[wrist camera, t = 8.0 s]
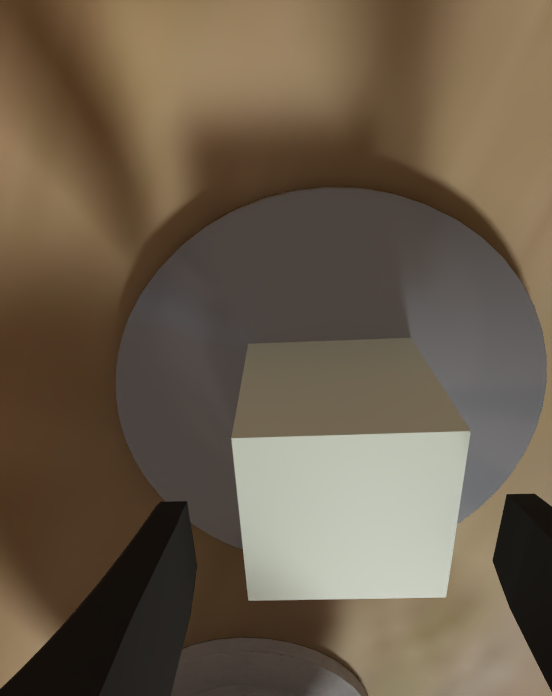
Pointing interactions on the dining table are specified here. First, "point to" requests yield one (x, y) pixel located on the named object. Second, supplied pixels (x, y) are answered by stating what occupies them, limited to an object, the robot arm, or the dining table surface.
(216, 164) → the dining table surface
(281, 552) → the cube
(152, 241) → the dining table surface
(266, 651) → the mate gourd
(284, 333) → the plate
